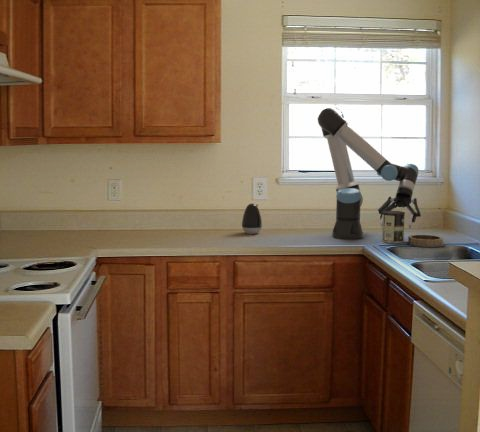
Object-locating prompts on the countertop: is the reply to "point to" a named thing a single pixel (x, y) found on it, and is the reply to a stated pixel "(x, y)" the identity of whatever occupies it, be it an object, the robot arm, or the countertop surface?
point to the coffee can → (393, 226)
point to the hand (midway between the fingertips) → (395, 225)
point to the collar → (425, 241)
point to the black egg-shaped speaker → (252, 219)
